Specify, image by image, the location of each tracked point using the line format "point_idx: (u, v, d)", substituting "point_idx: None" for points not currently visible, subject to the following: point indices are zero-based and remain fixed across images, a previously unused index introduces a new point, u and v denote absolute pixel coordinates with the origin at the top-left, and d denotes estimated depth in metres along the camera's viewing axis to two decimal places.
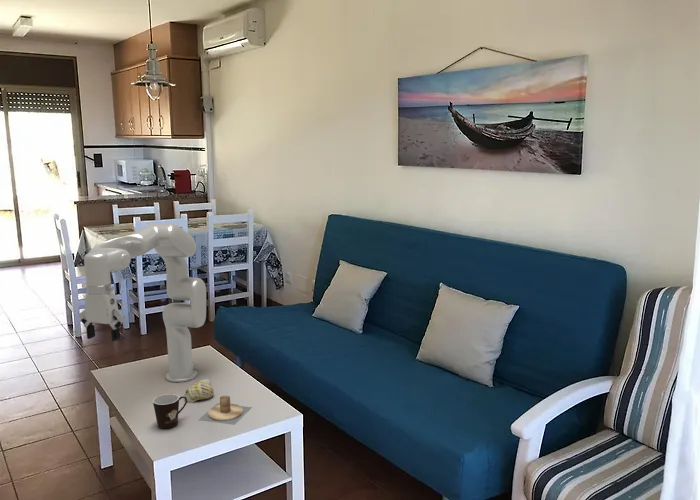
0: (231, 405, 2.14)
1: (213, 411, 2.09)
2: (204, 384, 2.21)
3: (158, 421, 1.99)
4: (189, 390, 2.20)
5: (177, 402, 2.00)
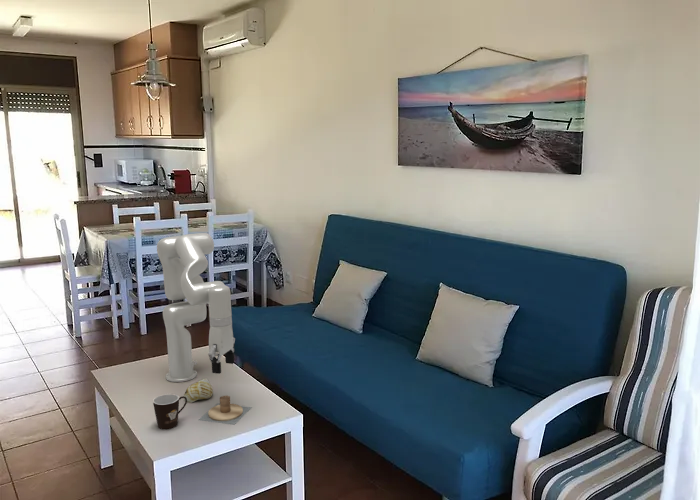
0: (231, 405, 2.14)
1: (213, 411, 2.09)
2: (204, 384, 2.21)
3: (158, 421, 1.99)
4: (188, 390, 2.20)
5: (177, 402, 2.00)
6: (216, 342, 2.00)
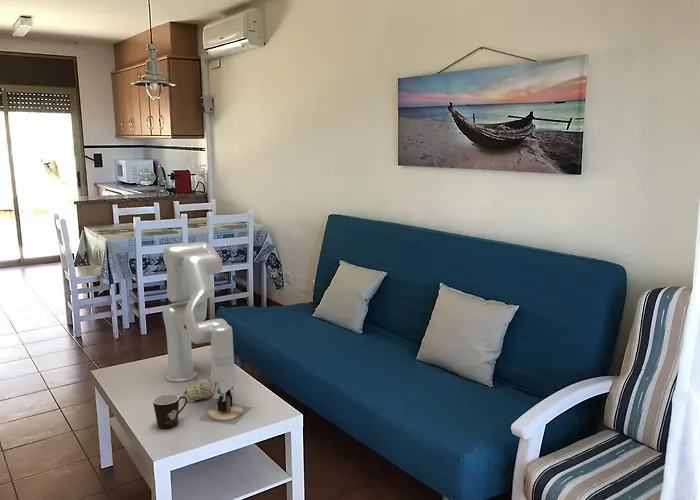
0: None
1: (213, 411, 2.09)
2: (203, 384, 2.21)
3: (158, 421, 1.99)
4: (188, 390, 2.20)
5: (177, 402, 2.00)
6: (218, 381, 2.03)
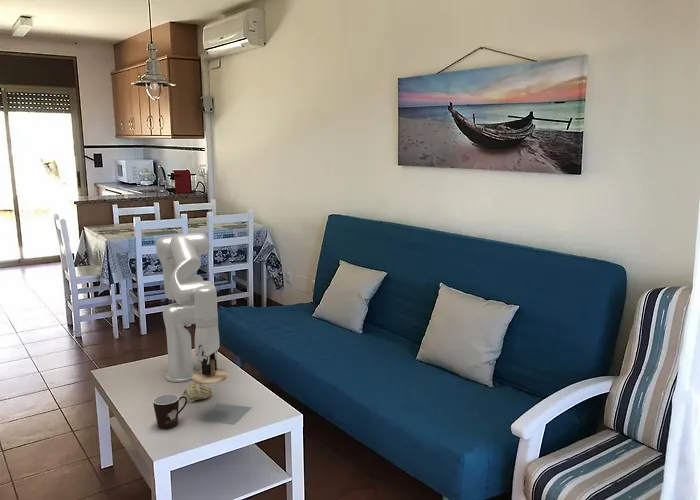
0: None
1: (197, 375, 2.05)
2: (203, 384, 2.21)
3: (158, 421, 1.99)
4: (187, 390, 2.20)
5: (177, 402, 2.00)
6: (202, 343, 1.98)
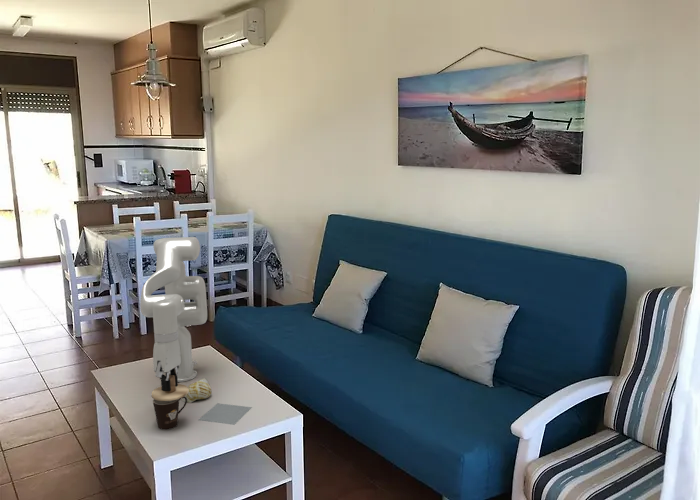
0: None
1: (157, 391, 2.00)
2: (202, 384, 2.21)
3: (158, 421, 1.99)
4: None
5: (177, 402, 2.00)
6: (160, 359, 1.93)
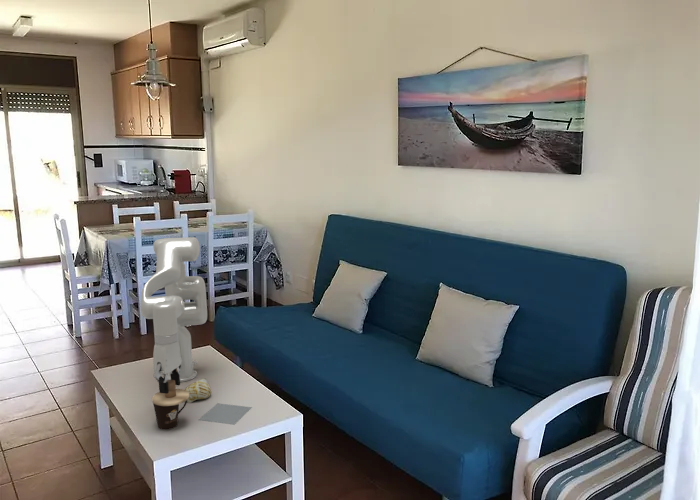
0: (178, 390, 2.05)
1: (157, 396, 2.00)
2: (202, 384, 2.21)
3: (158, 421, 1.99)
4: (187, 390, 2.20)
5: None
6: (160, 360, 1.93)
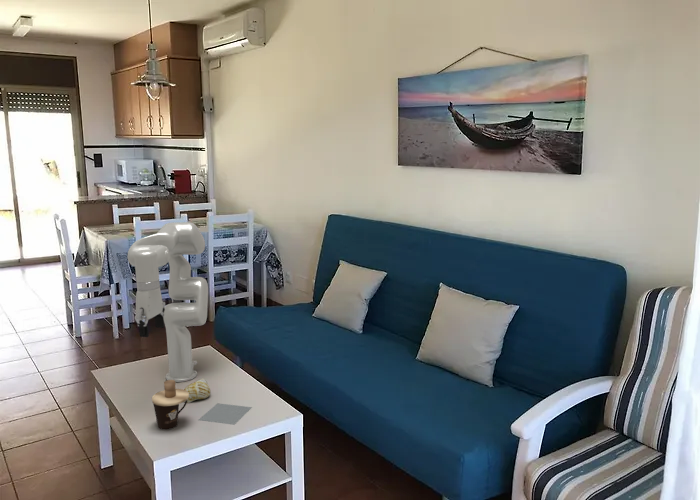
0: (177, 390, 2.05)
1: (157, 396, 2.00)
2: (201, 384, 2.21)
3: (158, 421, 1.99)
4: (186, 390, 2.20)
5: None
6: (143, 306, 2.01)
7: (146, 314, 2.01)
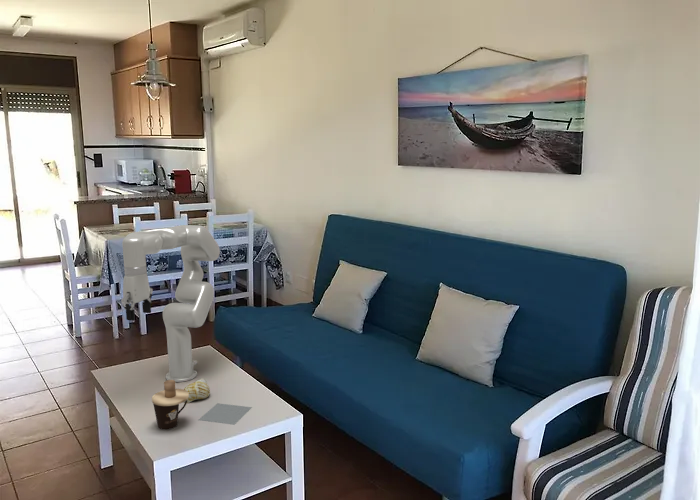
0: (177, 390, 2.05)
1: (157, 396, 2.00)
2: (201, 384, 2.21)
3: (158, 421, 1.99)
4: (186, 390, 2.19)
5: None
6: (129, 290, 2.10)
7: (132, 298, 2.10)
